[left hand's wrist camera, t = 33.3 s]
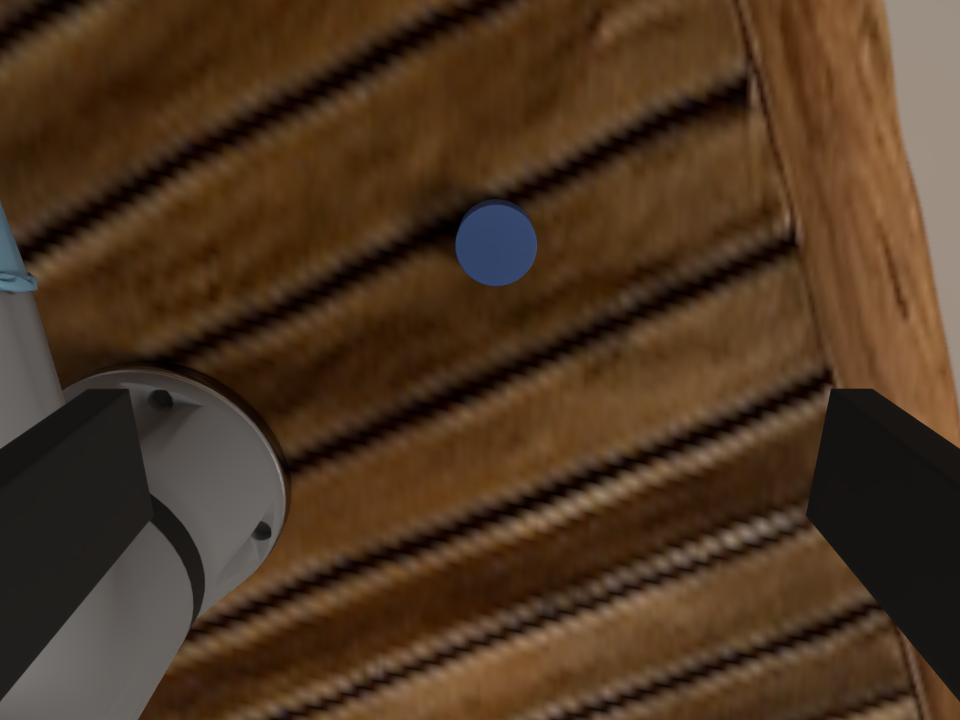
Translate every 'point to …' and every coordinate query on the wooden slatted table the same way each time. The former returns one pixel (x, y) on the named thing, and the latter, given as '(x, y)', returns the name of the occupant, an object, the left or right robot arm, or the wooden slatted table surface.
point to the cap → (496, 242)
